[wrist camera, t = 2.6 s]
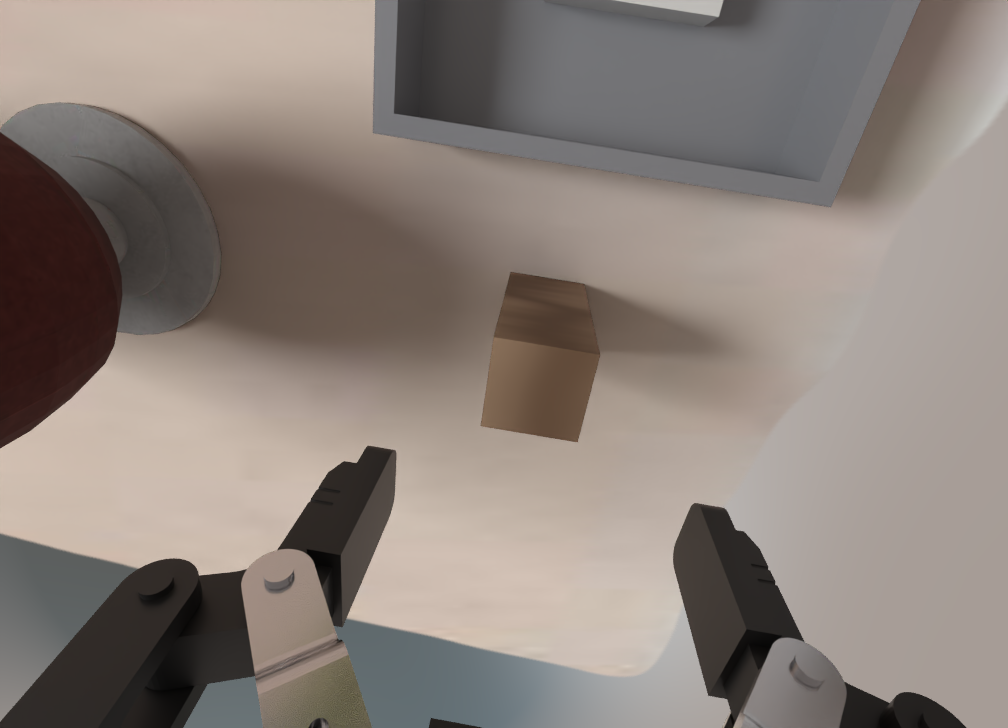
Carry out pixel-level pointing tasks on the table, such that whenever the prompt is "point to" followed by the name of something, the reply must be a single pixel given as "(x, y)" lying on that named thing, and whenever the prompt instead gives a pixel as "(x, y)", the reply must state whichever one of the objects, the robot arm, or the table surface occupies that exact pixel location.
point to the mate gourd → (90, 251)
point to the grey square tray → (644, 84)
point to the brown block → (541, 359)
